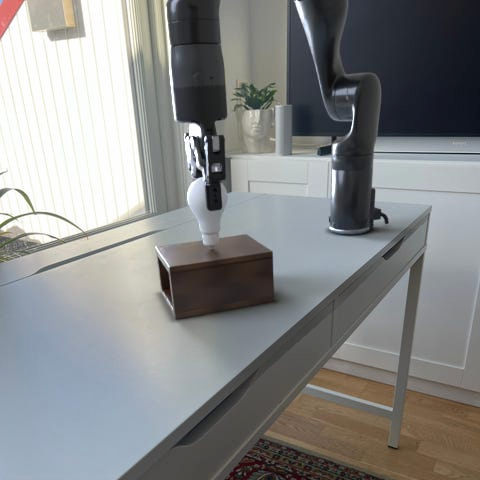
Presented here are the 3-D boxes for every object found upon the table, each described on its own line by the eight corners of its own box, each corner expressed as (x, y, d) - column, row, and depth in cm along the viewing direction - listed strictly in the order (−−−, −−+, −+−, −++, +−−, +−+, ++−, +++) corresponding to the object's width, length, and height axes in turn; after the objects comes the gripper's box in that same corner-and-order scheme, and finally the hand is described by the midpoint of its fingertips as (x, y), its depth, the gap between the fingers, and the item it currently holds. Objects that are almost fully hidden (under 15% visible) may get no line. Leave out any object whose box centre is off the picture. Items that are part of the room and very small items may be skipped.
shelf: (248, 278, 86) (246, 234, 83) (274, 301, 76) (272, 251, 73) (161, 293, 82) (155, 246, 79) (175, 319, 72) (169, 267, 68)
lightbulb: (192, 244, 78) (185, 175, 74) (229, 241, 79) (225, 172, 74) (192, 255, 73) (184, 181, 68) (232, 252, 73) (227, 178, 68)
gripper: (240, 79, 61) (247, 211, 68) (210, 85, 73) (218, 196, 80) (183, 82, 59) (196, 218, 66) (162, 88, 71) (174, 201, 78)
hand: (208, 205), depth 73 cm, fingers closed on lightbulb, 6 cm apart
